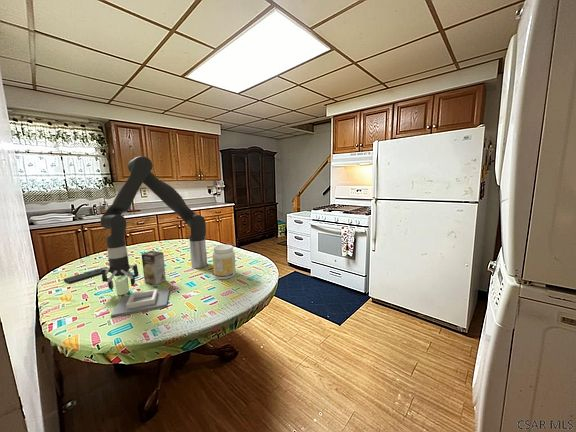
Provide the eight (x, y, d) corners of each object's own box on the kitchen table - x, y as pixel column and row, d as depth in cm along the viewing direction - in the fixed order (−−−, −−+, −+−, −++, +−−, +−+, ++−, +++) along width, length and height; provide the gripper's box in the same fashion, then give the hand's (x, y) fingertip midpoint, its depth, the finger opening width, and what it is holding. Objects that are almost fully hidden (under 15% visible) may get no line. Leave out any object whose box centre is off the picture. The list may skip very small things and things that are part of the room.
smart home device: (112, 269, 141) (69, 281, 124) (112, 271, 141) (69, 284, 124) (105, 266, 145) (63, 278, 128) (106, 269, 145) (63, 281, 128)
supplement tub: (220, 270, 139) (218, 243, 137) (239, 271, 137) (237, 244, 134) (209, 279, 127) (207, 249, 125) (230, 280, 125) (228, 251, 122)
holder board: (169, 290, 115) (168, 284, 115) (166, 306, 101) (165, 300, 100) (121, 298, 108) (120, 292, 107) (110, 317, 93) (109, 310, 93)
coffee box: (143, 282, 124) (140, 254, 122) (154, 277, 130) (151, 250, 128) (156, 284, 121) (153, 255, 119) (166, 279, 127) (163, 252, 125)
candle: (123, 295, 111) (120, 279, 109) (114, 294, 112) (111, 278, 110) (131, 290, 116) (129, 275, 114) (123, 289, 116) (121, 274, 115)
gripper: (137, 251, 117) (140, 281, 119) (102, 255, 111) (107, 286, 114) (133, 255, 110) (137, 287, 112) (96, 260, 104) (101, 293, 107)
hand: (122, 287), depth 113 cm, fingers open, 8 cm apart
